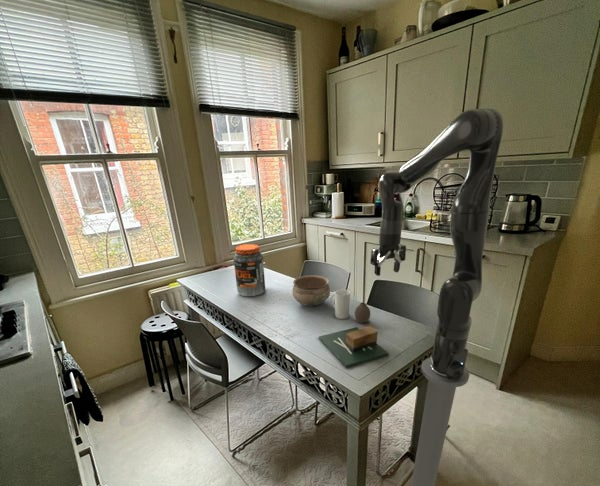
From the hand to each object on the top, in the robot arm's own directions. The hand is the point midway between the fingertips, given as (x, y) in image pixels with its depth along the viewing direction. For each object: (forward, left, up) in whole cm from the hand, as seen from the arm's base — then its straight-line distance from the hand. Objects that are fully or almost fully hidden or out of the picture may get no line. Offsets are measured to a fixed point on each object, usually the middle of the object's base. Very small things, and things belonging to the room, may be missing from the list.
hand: (386, 273), depth 122 cm
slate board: (-4, +17, -26) cm, 31 cm away
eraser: (-6, +14, -25) cm, 29 cm away
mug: (+22, +8, -26) cm, 35 cm away
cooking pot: (+39, +15, -26) cm, 49 cm away
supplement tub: (+69, +38, -26) cm, 83 cm away
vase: (+12, +2, -26) cm, 29 cm away
